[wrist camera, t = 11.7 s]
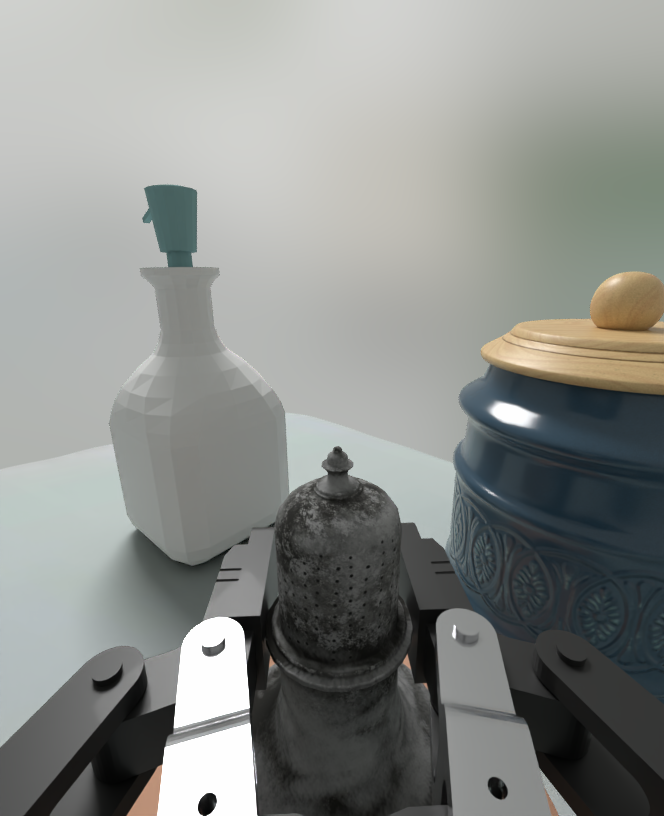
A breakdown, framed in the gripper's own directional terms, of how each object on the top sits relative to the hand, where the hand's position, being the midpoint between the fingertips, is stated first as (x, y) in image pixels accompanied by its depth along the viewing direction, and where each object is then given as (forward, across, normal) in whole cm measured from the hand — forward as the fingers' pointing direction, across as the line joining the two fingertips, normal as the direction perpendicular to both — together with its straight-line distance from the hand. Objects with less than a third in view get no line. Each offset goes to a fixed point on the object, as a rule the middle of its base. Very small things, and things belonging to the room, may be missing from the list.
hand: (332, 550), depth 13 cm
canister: (+6, -13, +10) cm, 17 cm away
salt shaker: (-3, 0, +8) cm, 8 cm away
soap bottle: (+16, +9, +9) cm, 20 cm away
